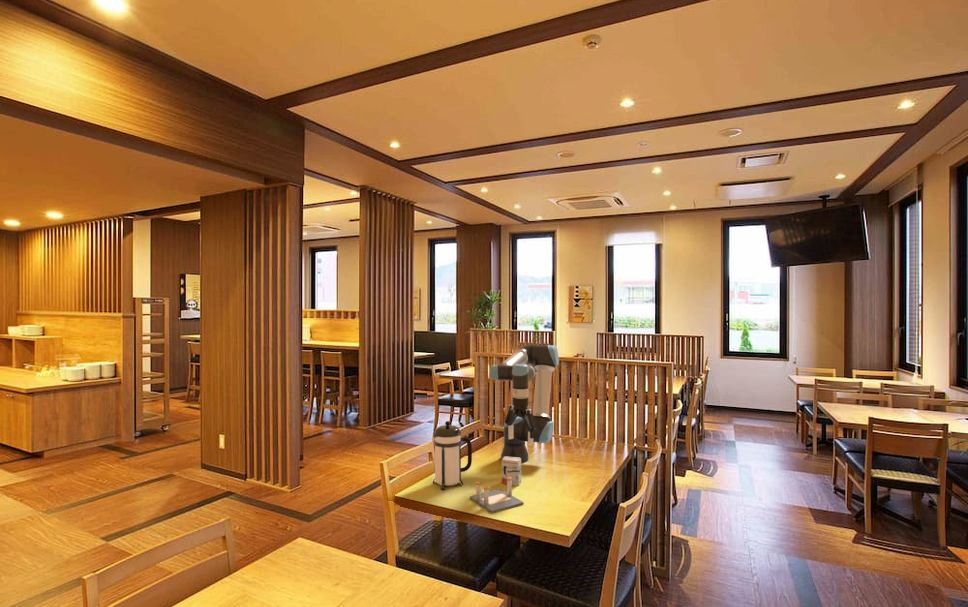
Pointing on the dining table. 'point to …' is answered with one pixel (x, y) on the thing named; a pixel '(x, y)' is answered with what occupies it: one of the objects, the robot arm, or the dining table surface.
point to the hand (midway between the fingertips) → (520, 441)
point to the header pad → (496, 498)
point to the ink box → (511, 470)
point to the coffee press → (449, 455)
